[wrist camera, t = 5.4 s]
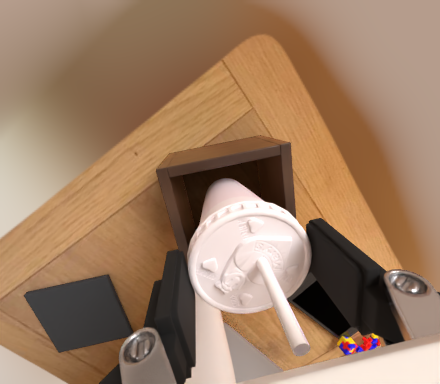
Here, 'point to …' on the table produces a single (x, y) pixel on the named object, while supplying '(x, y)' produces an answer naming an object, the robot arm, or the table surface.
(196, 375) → the drinking glass
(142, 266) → the table surface
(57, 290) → the mat
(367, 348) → the building blocks
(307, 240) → the smoothie
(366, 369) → the robot arm
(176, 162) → the holder
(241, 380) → the alarm clock
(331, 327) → the smartphone
